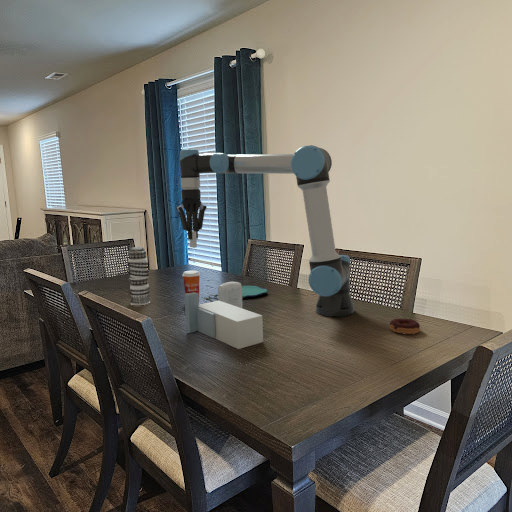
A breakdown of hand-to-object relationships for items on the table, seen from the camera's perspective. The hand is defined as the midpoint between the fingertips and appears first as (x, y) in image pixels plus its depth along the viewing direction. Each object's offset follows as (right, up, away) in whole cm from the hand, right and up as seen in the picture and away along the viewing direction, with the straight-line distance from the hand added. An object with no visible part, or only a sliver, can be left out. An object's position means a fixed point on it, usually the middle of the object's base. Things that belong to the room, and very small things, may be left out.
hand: (193, 247), depth 186 cm
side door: (+6, -31, -29) cm, 42 cm away
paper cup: (-2, -25, +15) cm, 29 cm away
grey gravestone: (+15, -27, 0) cm, 31 cm away
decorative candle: (-26, -25, +16) cm, 39 cm away
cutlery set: (+16, -23, +27) cm, 39 cm away
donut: (+77, -30, -28) cm, 87 cm away
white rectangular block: (+16, -31, -29) cm, 45 cm away
